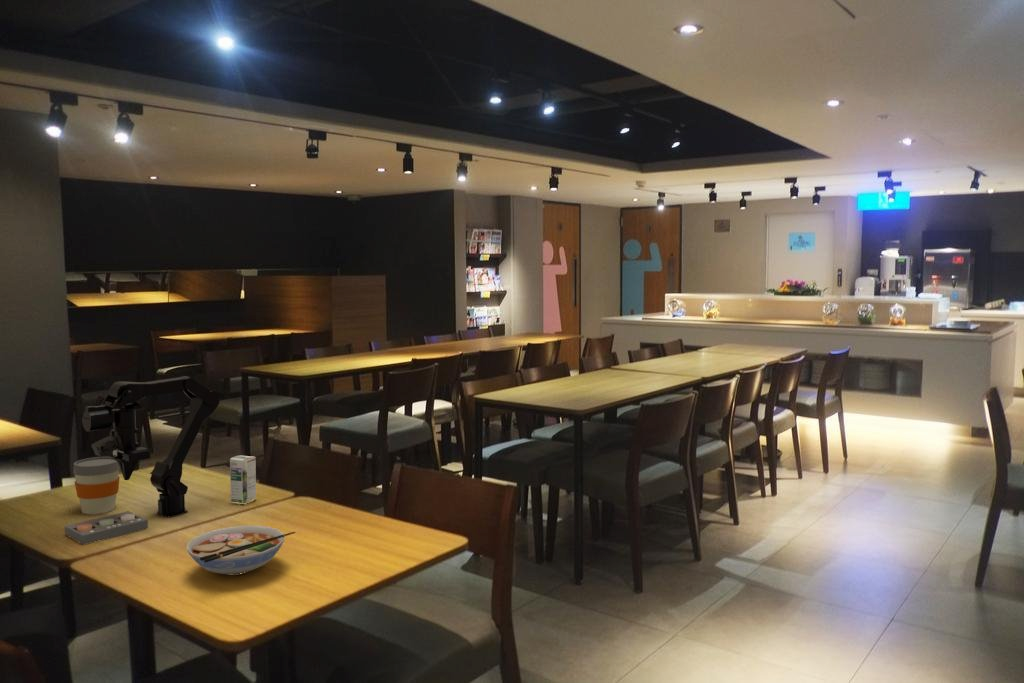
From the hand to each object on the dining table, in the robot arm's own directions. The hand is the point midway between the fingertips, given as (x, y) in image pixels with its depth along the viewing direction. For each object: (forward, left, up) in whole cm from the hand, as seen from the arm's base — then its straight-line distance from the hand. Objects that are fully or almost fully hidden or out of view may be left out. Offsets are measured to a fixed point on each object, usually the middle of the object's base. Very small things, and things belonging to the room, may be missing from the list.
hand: (126, 479), depth 221 cm
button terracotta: (+13, +2, -14) cm, 19 cm away
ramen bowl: (-2, +54, -13) cm, 56 cm away
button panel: (+7, +2, -13) cm, 15 cm away
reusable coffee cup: (0, -20, -13) cm, 24 cm away
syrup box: (-33, +6, -13) cm, 36 cm away
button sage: (+7, +2, -14) cm, 16 cm away
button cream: (+1, +2, -14) cm, 14 cm away
